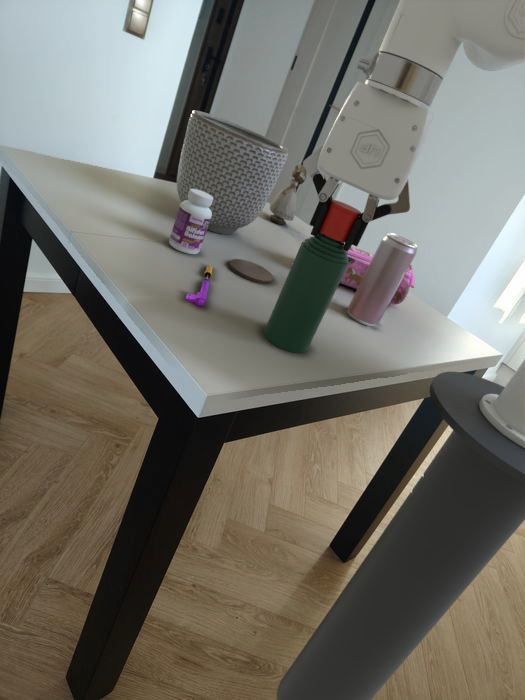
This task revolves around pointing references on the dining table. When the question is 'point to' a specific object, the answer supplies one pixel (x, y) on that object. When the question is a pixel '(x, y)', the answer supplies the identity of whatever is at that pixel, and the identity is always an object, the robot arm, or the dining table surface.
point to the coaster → (251, 271)
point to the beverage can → (382, 279)
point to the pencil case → (358, 267)
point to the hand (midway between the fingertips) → (331, 239)
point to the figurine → (287, 198)
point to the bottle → (307, 293)
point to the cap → (339, 220)
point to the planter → (228, 169)
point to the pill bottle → (192, 222)
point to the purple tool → (202, 295)
